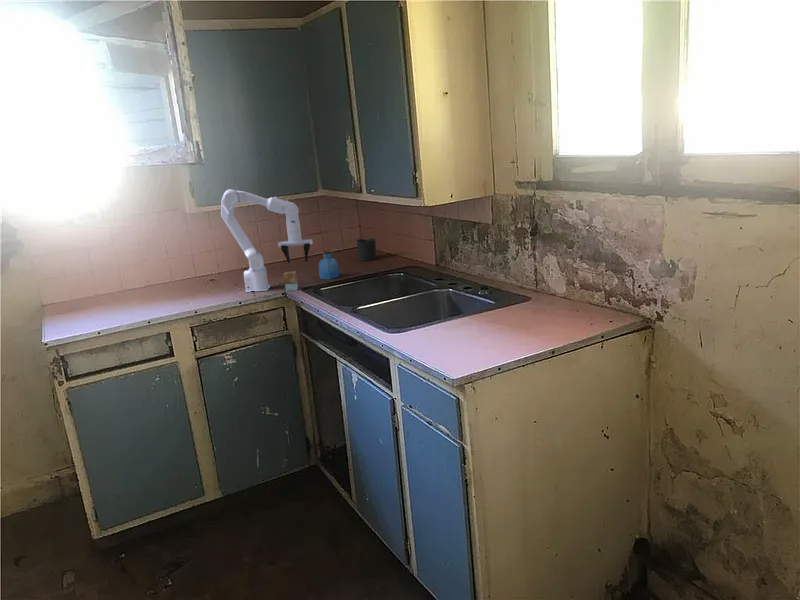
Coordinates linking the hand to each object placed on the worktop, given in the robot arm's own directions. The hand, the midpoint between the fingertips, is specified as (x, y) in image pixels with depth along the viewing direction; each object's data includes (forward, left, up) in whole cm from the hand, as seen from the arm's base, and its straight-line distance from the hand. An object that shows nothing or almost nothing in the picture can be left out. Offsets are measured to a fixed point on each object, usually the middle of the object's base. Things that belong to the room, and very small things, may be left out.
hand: (297, 261), depth 284 cm
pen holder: (+28, +42, -10) cm, 51 cm away
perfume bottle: (+12, +9, -10) cm, 18 cm away
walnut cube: (-3, -8, -7) cm, 11 cm away
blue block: (-2, -9, -10) cm, 14 cm away
